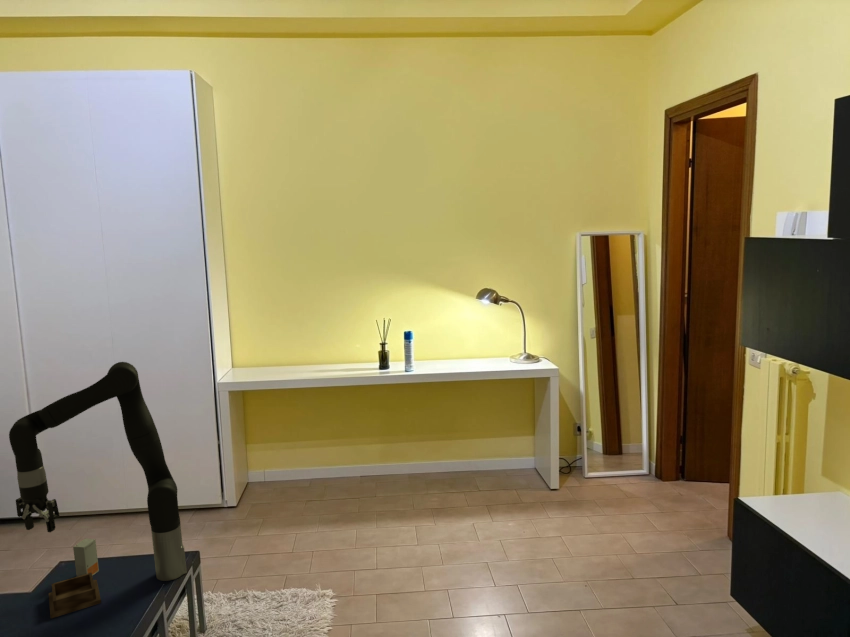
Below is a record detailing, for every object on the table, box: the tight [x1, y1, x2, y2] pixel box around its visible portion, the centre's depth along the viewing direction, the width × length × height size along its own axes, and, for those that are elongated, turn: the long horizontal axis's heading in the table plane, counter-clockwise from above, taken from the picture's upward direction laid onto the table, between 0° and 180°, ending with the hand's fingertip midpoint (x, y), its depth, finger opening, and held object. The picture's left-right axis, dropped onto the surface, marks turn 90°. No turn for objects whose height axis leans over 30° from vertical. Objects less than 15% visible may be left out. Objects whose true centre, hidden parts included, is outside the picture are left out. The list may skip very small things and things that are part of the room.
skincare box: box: [72, 538, 100, 577], centre depth 220 cm, size 6×4×12 cm
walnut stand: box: [48, 573, 102, 619], centre depth 206 cm, size 14×14×5 cm
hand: (40, 530), depth 202 cm, fingers open, 8 cm apart
